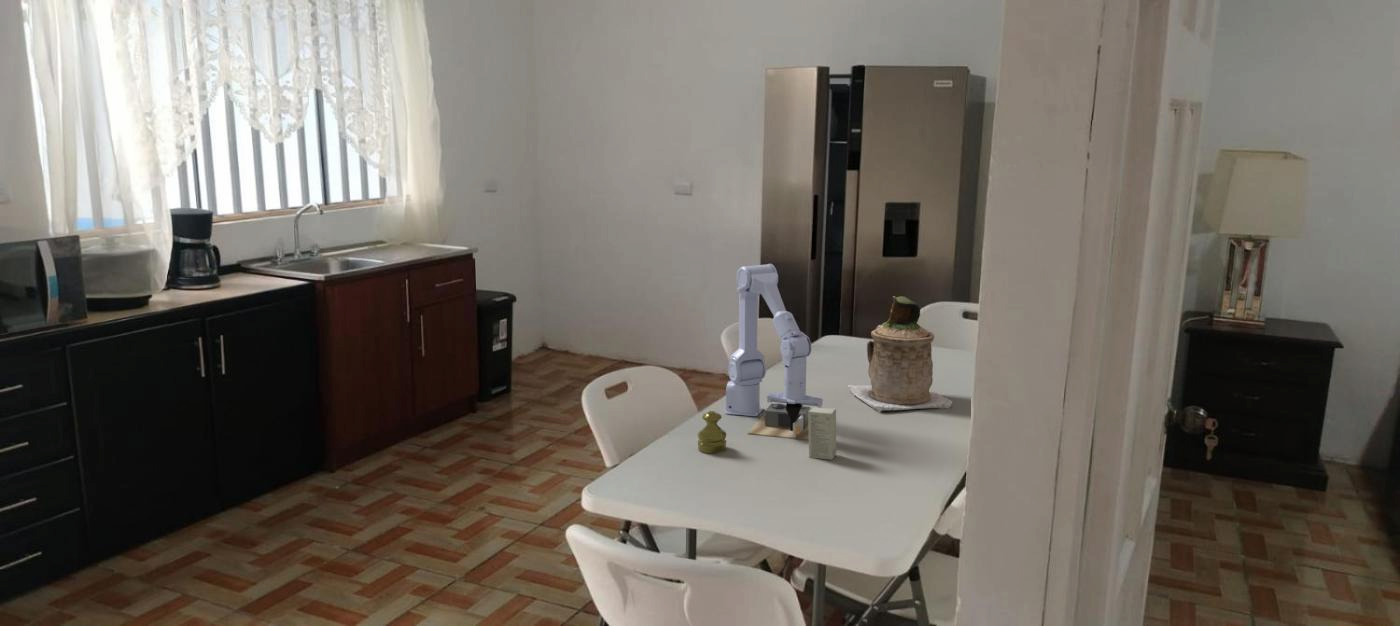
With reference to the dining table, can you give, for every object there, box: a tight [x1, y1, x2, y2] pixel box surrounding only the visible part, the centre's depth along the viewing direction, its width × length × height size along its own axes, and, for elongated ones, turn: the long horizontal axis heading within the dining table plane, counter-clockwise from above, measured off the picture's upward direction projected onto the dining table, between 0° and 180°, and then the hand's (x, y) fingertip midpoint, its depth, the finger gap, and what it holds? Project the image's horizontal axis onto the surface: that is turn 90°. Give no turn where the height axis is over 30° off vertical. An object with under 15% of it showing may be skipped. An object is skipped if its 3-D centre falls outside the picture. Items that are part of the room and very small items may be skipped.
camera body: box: [764, 403, 811, 430], centre depth 267 cm, size 11×7×5 cm, turn 71°
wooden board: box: [747, 415, 809, 441], centre depth 265 cm, size 18×16×1 cm
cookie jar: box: [847, 295, 953, 414], centre depth 288 cm, size 25×25×32 cm
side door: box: [793, 415, 804, 437], centre depth 259 cm, size 7×2×4 cm, turn 157°
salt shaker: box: [697, 410, 727, 454], centre depth 248 cm, size 7×7×10 cm
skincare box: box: [808, 406, 837, 461], centre depth 242 cm, size 6×4×12 cm
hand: (794, 430), depth 258 cm, fingers closed, pressing on side door
